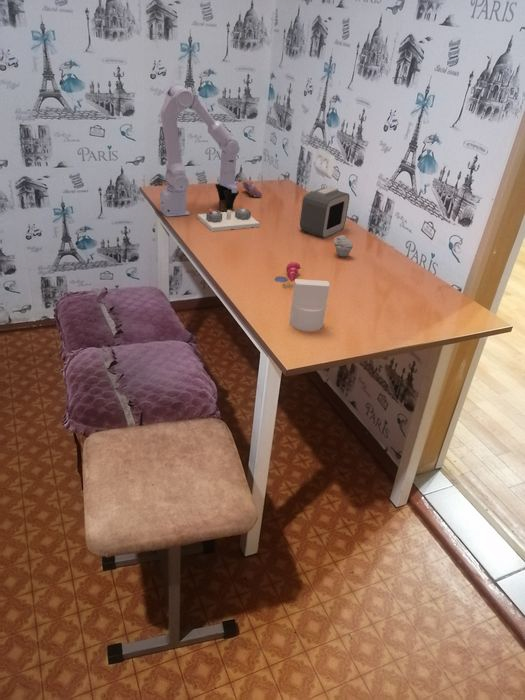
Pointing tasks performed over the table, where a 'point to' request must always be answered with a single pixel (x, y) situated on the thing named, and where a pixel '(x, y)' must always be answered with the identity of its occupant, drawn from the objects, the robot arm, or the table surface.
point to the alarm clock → (324, 211)
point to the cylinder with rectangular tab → (309, 304)
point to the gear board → (228, 220)
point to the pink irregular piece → (251, 188)
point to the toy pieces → (289, 274)
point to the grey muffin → (342, 245)
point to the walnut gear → (223, 205)
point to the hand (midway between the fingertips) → (225, 205)
